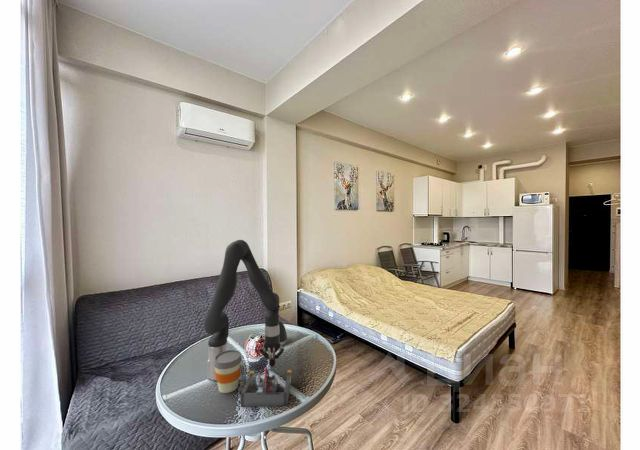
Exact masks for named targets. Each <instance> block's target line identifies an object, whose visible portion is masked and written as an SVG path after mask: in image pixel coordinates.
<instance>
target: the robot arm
mask: <svg viewBox="0 0 640 450" xmlns="http://www.w3.org/2000/svg"><path fill="white" fill-rule="evenodd" d="M224 252H225V254H224V260H223V265H222V268H221V272H220V274H219V278H218V282H217V284H216V288H215V292H214V296H213V299H212V301H211V304H210V308H209V310H208V312H207V315H206V317H205V320H204V323H203V324H204V330H205V332H206V333H207V334H209V335H211V336H210V337H209V339H208V342H207V343H208V359H207V362H206V367H207V369H206V370H207V371H206V372H207V380H211V381H216V376H215V366H214V360H215V356H216V355H218V354H219V353H221V352H224V351H227V350H228V339H229V332H230V331H229V329H230V327H229V326H230V325H229V323H230V322H229V321H230V320H229V317H228V314H227V313H226V312H224V309H225V308H226V307H227V305H228V304H229V303H230V301H231V300H232V298H233V297H234V294H235V291H236V288H237V285H238V277H237V276H238V275H237V272H238V267H239V265H240V263H241V261H242V263H243V264H244V267H245V269H246V272H247V275H248V277H249V281H250V283H251V284H252V286H253V288H254V289H255V290H256V292H257V293H258V296H259V299H260V301H261V303H262V304H263V306H264V307H265V311H266V312H265V315H264V344H263V346H261V347H260V348H259V352H260V353H261V354H262V356H263V358H265V359H266V360H268V366H270V367H271V368H274V366H276V360H278V359H279V357H281V355H282V354H283V353H284V351H285V347H284V346H283V345H282V346H281V344H280V333H279V332H280V330H279V321H280V314H279V313H280V312H279V311H280V296H279V295H278V294H277V292H273V291H272V290H271V285H270V282H269V281H268V280H267V278H266V276H265V275H264V273H263V272H262V271H261V269H260V267H259V265H258V263H257V261H256V259H255V257H254V254H253V253H252V250H251V248H250V246H249V244H248V242H247V241H245V240H243V239H237V240H235V241H232V242H231V243H229V244H228V245H227V246H226V249H225V251H224Z"/></svg>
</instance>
